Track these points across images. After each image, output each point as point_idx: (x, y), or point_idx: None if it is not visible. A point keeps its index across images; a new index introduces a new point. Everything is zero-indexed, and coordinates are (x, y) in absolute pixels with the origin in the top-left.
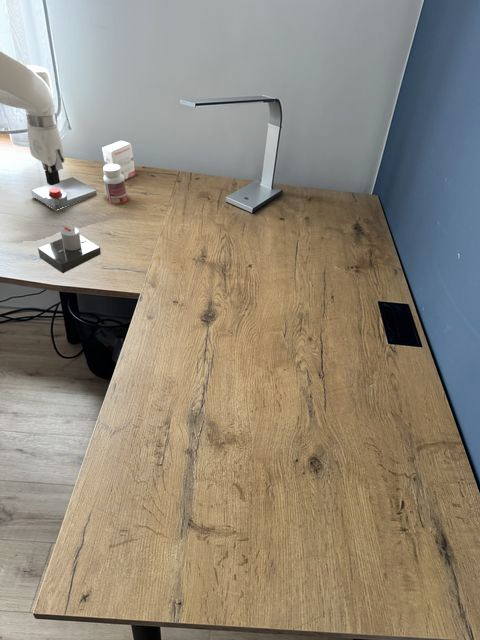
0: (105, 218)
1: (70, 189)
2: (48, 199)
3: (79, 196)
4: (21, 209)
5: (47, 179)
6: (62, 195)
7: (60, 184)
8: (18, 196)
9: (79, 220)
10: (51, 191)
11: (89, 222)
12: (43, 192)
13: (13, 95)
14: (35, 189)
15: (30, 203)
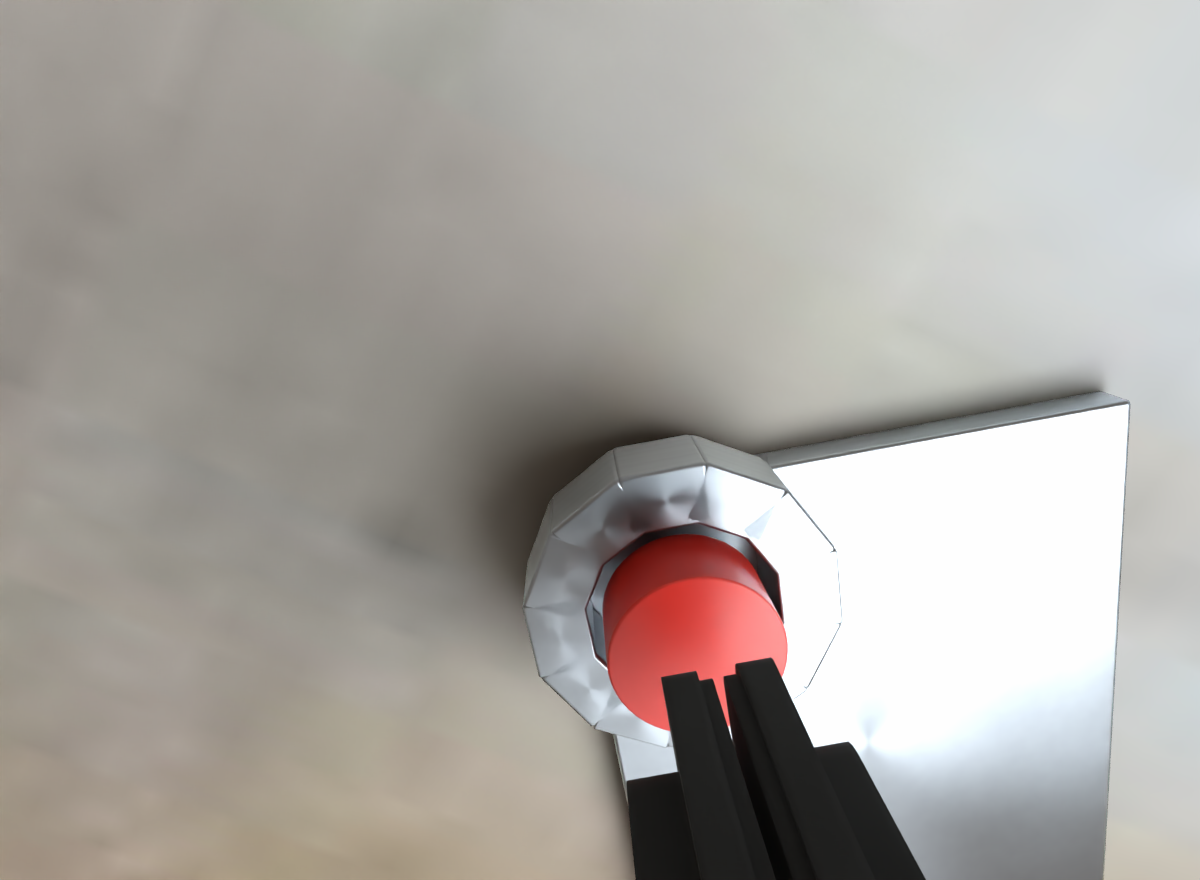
0: (52, 842)
1: None
2: (614, 475)
3: None
4: (730, 49)
5: (759, 730)
6: (610, 682)
7: (1024, 761)
8: (1116, 186)
9: (98, 599)
10: (676, 601)
11: (8, 673)
12: (961, 514)
13: None
14: (1104, 459)
15: (829, 249)
